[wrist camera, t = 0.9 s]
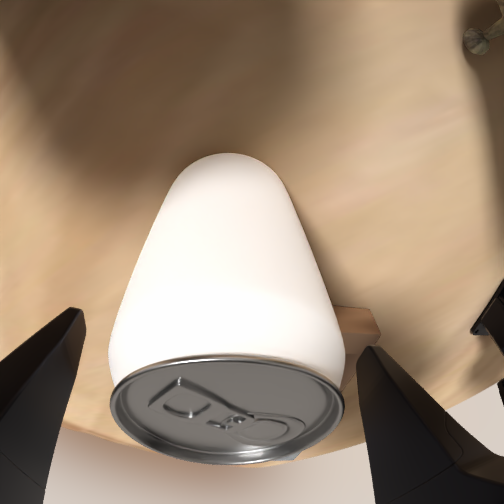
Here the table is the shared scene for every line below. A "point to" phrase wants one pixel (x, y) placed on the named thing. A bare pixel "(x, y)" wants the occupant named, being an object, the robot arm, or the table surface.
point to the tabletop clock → (484, 35)
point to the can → (227, 325)
